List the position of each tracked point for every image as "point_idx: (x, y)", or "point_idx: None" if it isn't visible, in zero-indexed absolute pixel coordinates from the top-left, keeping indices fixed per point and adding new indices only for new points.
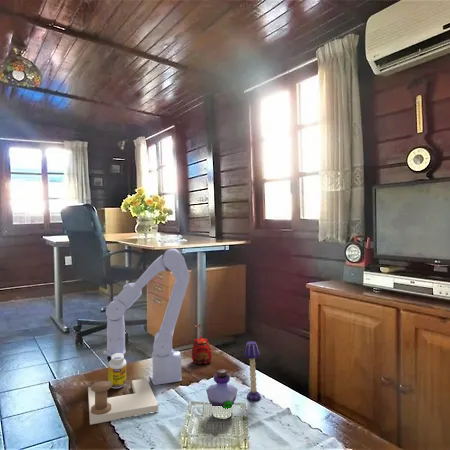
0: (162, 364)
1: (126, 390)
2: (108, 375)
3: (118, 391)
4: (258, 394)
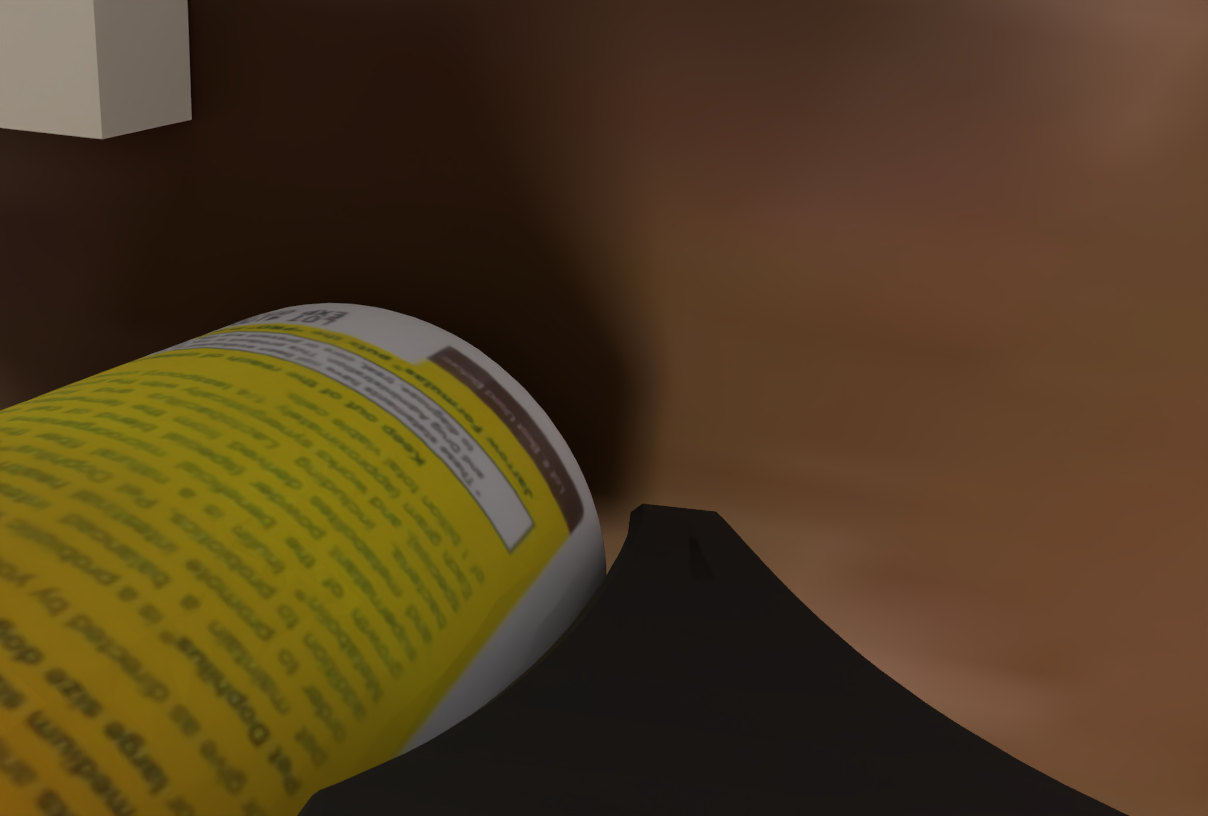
0: None
1: None
2: (96, 399)
3: None
4: None
